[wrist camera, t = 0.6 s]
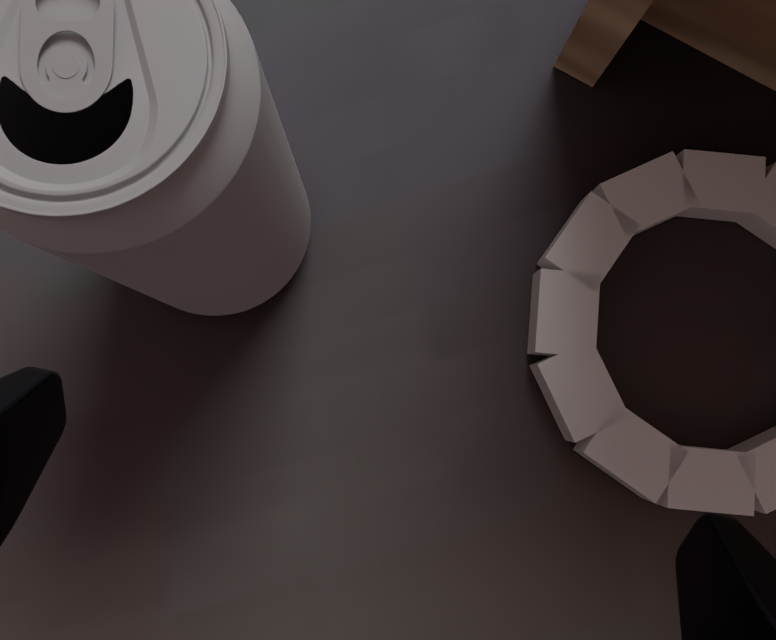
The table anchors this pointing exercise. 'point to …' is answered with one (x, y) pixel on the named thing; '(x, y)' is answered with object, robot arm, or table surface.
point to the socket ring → (580, 320)
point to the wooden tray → (677, 34)
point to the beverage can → (149, 149)
